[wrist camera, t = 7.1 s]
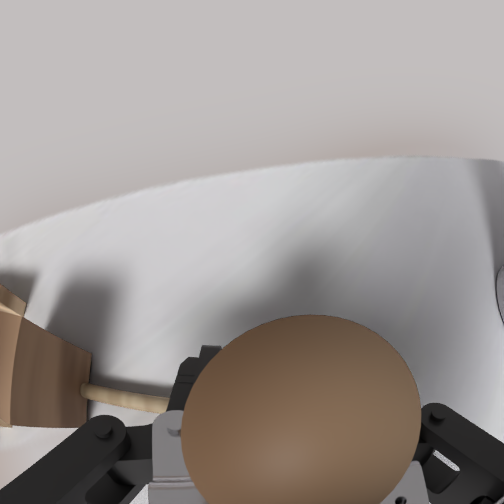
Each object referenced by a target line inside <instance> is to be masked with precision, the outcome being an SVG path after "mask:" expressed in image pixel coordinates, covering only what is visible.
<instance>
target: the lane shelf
mask: <svg viewBox="0 0 504 504" xmlns="http://www.w3.org/2000/svg"><path fill="white" fill-rule="evenodd" d="M25 307H26V302H24V301H23V300H21V299H20V298H19V297H17V296H16V295H14V294H13V293H12V292H10V291H9V290H8V289H6V288H5V287H4V286H3V285H1V284H0V311H3V312H7V313H10V314H14V315H18V316H22V317H23V316H24V312H25ZM0 426H1V427H11V428H12V425H9V424H8V423H6V422H4V421H3V420H1V419H0Z"/></svg>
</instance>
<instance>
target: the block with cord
mask: <svg viewBox="0 0 504 504" xmlns="http://www.w3.org/2000/svg"><path fill="white" fill-rule="evenodd" d="M91 356H92V353H89V352H87V351H85V350H83V349H81V348H79V347H77V346H75V345H73V344H71V343H69V342H67V341H65V340H63V339H61V338H59V337H57V336H55V335H53V334H51V333H50V332H48V331H46V330H44V329H42V328H41V327H39V326H37V325H35V324H34V323H32V322H30V321H29V320H27V319H25V318H24V317H22V316H18V315H14V314H10V313H7V312H3V311H0V419H1V420H3V421H4V422H6V423H8V424H9V425H15V426H27V427H46V428H80V427H81V426H82V425H83V424H85V423H86V417H87V399H90V400H94V401H98V402H102V403H106V404H111V405H115V406H120V407H125V408H130V409H135V410H141V411H147V412H153V413H160V414H162V413H164V412H166V409H167V406H168V403H169V399H170V398H167V397H159V396H152V395H145V394H139V393H133V392H127V391H121V390H116V389H111V388H107V387H102V386H98V385H93V384H89V373H90V364H91ZM420 428H421V405H420V398H419V394H418V390H417V386H416V383H415V381H414V378H413V376H412V373H411V371H410V370H409V368H408V366H407V364H406V363H405V361H404V360H403V358H402V357H401V356H400V355H399V353H398V352H397V351H396V350H395V349H394V348H393V347H392V346H391V345H390V344H389V343H388V342H387V341H386V340H385V339H383V338H382V337H381V336H379V335H378V334H377V333H375V332H373V331H371V330H370V329H368V328H366V327H364V326H362V325H360V324H357V323H355V322H353V321H349V320H346V319H342V318H339V317H332V316H326V315H299V316H291V317H286V318H281V319H277V320H274V321H271V322H268V323H265V324H262V325H260V326H258V327H255V328H253V329H251V330H249V331H247V332H245V333H244V334H242V335H241V336H239V337H237V338H236V339H234V340H233V341H231V342H230V343H229V344H228V345H226V346H225V347H224V348H223V349H221V350H220V351H219V352H218V353H217V354H216V355H215V356H214V357H213V358H212V359H211V360H210V361H209V363H208V364H207V365H206V367H205V368H204V369H203V371H202V372H201V373H200V375H199V376H198V378H197V380H196V382H195V383H194V385H193V387H192V389H191V391H190V394H189V396H188V399H187V401H186V404H185V408H184V412H183V417H182V424H181V447H182V453H183V458H184V462H185V466H186V468H187V471H188V473H189V475H190V478H191V480H192V481H193V483H194V485H195V486H196V488H197V490H198V491H199V493H200V494H201V495H202V496H203V497H204V499H205V500H206V501H207V502H208V503H209V504H380V503H381V502H382V501H383V500H384V499H385V498H386V497H387V496H388V495H389V494H390V493H391V492H392V491H393V490H394V488H395V487H396V486H397V484H398V483H399V482H400V480H401V479H402V478H403V476H404V474H405V472H406V471H407V469H408V467H409V465H410V463H411V461H412V459H413V456H414V454H415V451H416V447H417V444H418V440H419V435H420Z"/></svg>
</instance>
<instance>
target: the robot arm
mask: <svg viewBox="0 0 504 504" xmlns="http://www.w3.org/2000/svg"><path fill="white" fill-rule="evenodd" d="M497 299H498V304H499V309H500V312H501V316H502V319H503V321H504V266H502V268H501V269H500V270H499V273H498V276H497ZM221 349H222V348H221V346H210V345H202V347H201V351H200V355H199V358H197V357H188V358H187V359H186V360H185V361H184V362H182V363H181V364H180V367H179V370H178V375H177V377H176V380H175V383H174V386H173V390H172V393H171V396H170V399H169V403H168V406H167V409H166V412H164V413H162V414H160V415H159V416H158V417H157V418H156V419H155V420H154V422H153V423H152V424H149V425H144V426H132V427H125V425H124V423H123V422H122V421H121V420H120V419H118V418H116V417H114V416H110V415H99V416H96V417H93V418H91V419H90V420H88V421H87V422H86V423H85V424H83V425H82V426H81V427H80V428H78V429H77V430H76V431H75V432H74V433H72V434H71V435H70V436H69V437H67V438H66V439H65V440H64V441H63V442H61V443H60V444H59V445H57V446H56V447H55V448H54V449H52V450H51V451H50V452H49V453H47V455H45V456H44V457H42V458H41V459H40V460H39V461H37V462H36V463H35V464H33V465H32V466H31V467H30V468H28V469H27V470H26V471H24V472H23V473H22V474H21V475H19V476H18V477H17V478H15V479H14V480H13V481H12V482H10V483H9V484H7V485H6V486H5V487H3V488H2V489H1V490H0V504H129V503H130V502H131V501H132V500H133V499H134V498H135V497H136V495H137V494H138V493H139V492H140V491H141V490H142V489H143V487H144V486H145V485H146V484H149V485H148V499H149V504H209V503H208V502H207V501H206V500H205V499H204V497H203V496H202V495H201V494H200V493H199V491H198V490H197V488H196V486H195V485H194V483H193V481H192V480H191V478H190V475H189V473H188V471H187V468H186V466H185V462H184V458H183V453H182V447H181V424H182V417H183V412H184V408H185V404H186V401H187V399H188V396H189V394H190V391H191V389H192V387H193V385H194V383H195V382H196V380H197V378H198V376H199V375H200V373H201V372H202V371H203V369H204V368H205V367H206V365H207V364H208V363H209V361H210V360H211V359H212V358H213V357H214V356H215V355H216V354H217V353H218V352H219V351H220V350H221ZM435 450H437V451H438V452H440V453H441V454H442V455H444V456H445V457H446V458H448V459H449V460H450V461H452V462H453V463H454V464H456V465H457V466H458V467H459V469H460V471H455V470H453V469H452V468H450V467H449V466H448V465H446V464H445V463H444V462H442V461H441V460H440V459H438V458H437V457H436V456H434V455H433V453H434V452H435ZM429 502H430V503H431V504H504V443H502V442H501V441H499V440H498V439H496V438H495V437H493V436H492V435H490V434H488V433H487V432H485V431H484V430H482V429H481V428H479V427H478V426H476V425H475V424H473V423H472V422H470V421H469V420H467V419H466V418H464V417H463V416H461V415H459V414H458V413H456V412H455V411H453V410H452V409H450V408H449V407H447V406H446V405H443V404H440V403H429V404H427V405H425V406H423V407H422V408H421V428H420V435H419V440H418V444H417V447H416V451H415V454H414V456H413V459H412V461H411V463H410V465H409V467H408V469H407V471H406V472H405V474H404V476H403V478H402V479H401V480H400V482H399V483H398V484H397V486H396V487H395V488H394V490H393V491H392V492H391V493H390V494H389V495H388V496H387V497H386V498H385V499H384V500H383V501H382V502H381V503H380V504H429Z"/></svg>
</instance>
